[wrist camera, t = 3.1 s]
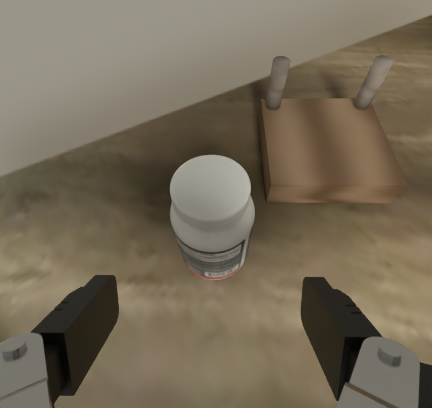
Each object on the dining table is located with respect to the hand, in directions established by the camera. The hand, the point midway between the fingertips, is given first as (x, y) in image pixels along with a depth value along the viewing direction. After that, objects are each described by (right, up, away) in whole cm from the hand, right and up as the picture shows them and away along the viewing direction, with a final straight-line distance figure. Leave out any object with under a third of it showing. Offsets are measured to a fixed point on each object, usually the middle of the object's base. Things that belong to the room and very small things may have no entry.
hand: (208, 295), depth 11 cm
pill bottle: (0, 0, +12) cm, 12 cm away
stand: (+11, +9, +18) cm, 23 cm away
